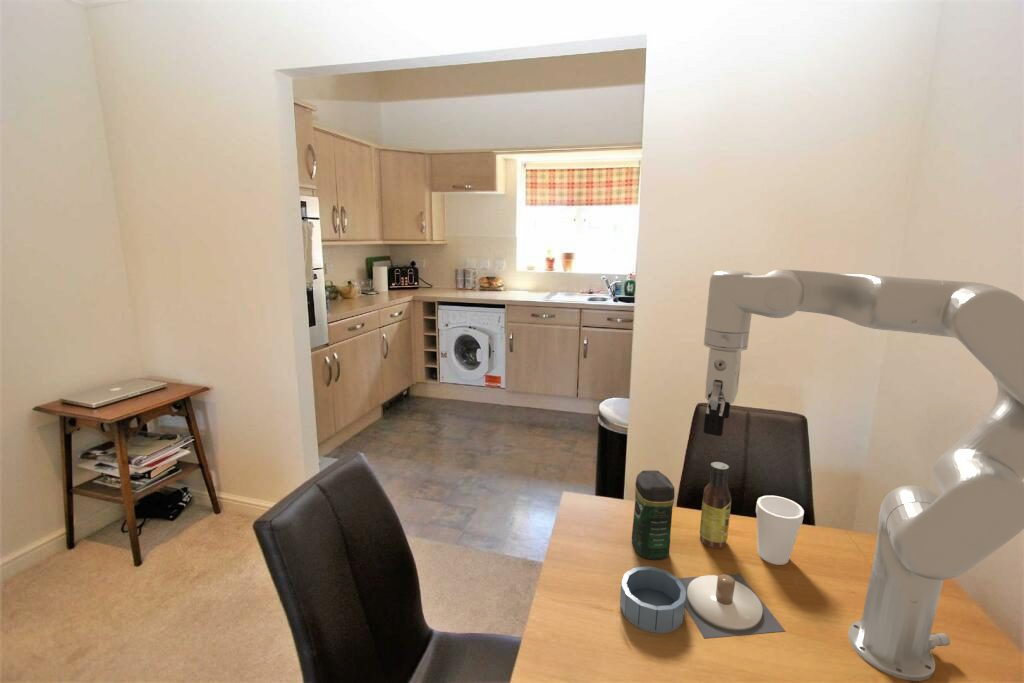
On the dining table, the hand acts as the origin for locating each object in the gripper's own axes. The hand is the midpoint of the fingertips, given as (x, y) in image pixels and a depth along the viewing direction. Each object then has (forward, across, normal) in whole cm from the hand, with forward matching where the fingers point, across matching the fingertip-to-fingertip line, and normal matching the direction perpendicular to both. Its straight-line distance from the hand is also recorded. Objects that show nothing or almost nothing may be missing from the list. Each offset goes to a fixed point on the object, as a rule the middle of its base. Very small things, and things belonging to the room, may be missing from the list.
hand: (716, 425), depth 98 cm
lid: (+37, -2, -5) cm, 37 cm away
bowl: (+37, -10, +7) cm, 39 cm away
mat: (+37, -2, -5) cm, 37 cm away
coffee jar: (+37, +9, +12) cm, 40 cm away
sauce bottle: (+37, +19, 0) cm, 42 cm away
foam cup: (+37, +20, -13) cm, 44 cm away
